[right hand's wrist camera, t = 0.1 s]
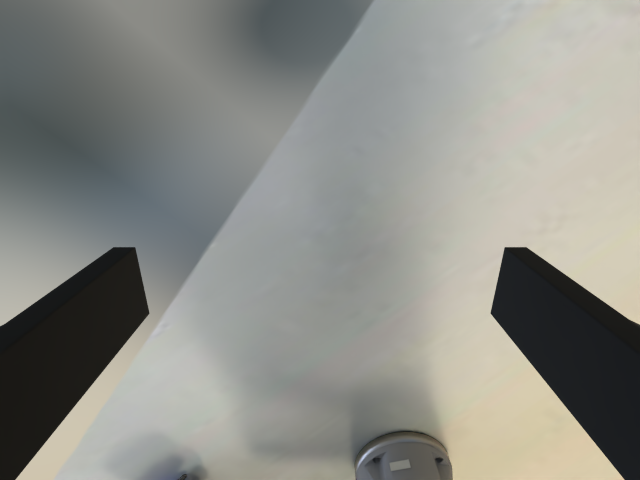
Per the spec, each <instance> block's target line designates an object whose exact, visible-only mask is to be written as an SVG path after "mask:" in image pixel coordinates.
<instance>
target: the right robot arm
mask: <svg viewBox="0 0 640 480" xmlns="http://www.w3.org/2000/svg"><path fill="white" fill-rule="evenodd" d="M148 314H149V309H148V305H147V300H146V296H145V291H144V286H143V282H142V277H141V272H140V268H139V263H138V258H137V254H136V249H135V247H113V248H112V249H111V250H109V251H108V252H106V253H105V254H104V255H102V256H101V257H99V258H98V259H96V260H95V261H94V262H92V263H91V264H89V265H88V266H87V267H85V268H84V269H82V270H81V271H79V272H78V273H77V274H75V275H74V276H72V277H71V278H69V279H68V280H67V281H65V282H64V283H62V284H61V285H60V286H58V287H57V288H55V289H54V290H52V291H51V292H50V293H48V294H47V295H45V296H44V297H43V298H41V299H40V300H38V301H37V302H35V303H34V304H33V305H31V306H30V307H28V308H27V309H26V310H24V311H23V312H21V313H20V314H18V315H17V316H16V317H14V318H13V319H11V320H10V321H8V322H7V323H6V324H4V325H2V326H0V480H15V479H16V478H17V477H18V476H19V474H20V473H21V472H22V471H23V469H24V468H25V467H26V466H27V464H28V463H29V462H30V461H31V460H32V458H33V457H34V456H35V455H36V453H37V452H38V451H39V450H40V448H41V447H42V446H43V445H44V443H45V442H46V441H47V440H48V438H49V437H50V436H51V435H52V433H53V432H54V431H55V430H56V429H57V427H58V426H59V425H60V424H61V422H62V421H63V420H64V419H65V417H66V416H67V415H68V414H69V412H70V411H71V410H72V409H73V407H74V406H75V405H76V404H77V402H78V401H79V400H80V399H81V398H82V396H83V395H84V394H85V392H86V391H87V390H88V389H89V388H90V386H91V385H92V384H93V383H94V381H95V380H96V379H97V378H98V376H99V375H100V374H101V373H102V372H103V370H104V369H105V368H106V367H107V365H108V364H109V363H110V362H111V360H112V359H113V358H114V357H115V355H116V354H117V353H118V352H119V350H120V349H121V348H122V347H123V345H124V344H125V343H126V342H127V340H128V339H129V338H130V337H131V336H132V334H133V333H134V332H135V331H136V329H137V328H138V327H139V326H140V324H141V323H142V322H143V321H144V319H145V318H146V317H147V316H148ZM491 314H492V316H493V317H494V318H495V319H496V321H497V322H498V323H499V324H500V326H501V327H502V328H503V329H504V331H505V332H506V333H507V334H508V336H509V337H510V338H511V339H512V341H513V342H514V343H515V344H516V345H517V347H518V348H519V349H520V350H521V352H522V353H523V354H524V355H525V357H526V358H527V359H528V360H529V362H530V363H531V364H532V365H533V367H534V368H535V369H536V370H537V372H538V373H539V374H540V375H541V376H542V378H543V379H544V380H545V381H546V383H547V384H548V385H549V386H550V388H551V389H552V390H553V391H554V393H555V394H556V395H557V396H558V398H559V399H560V400H561V401H562V402H563V404H564V405H565V406H566V407H567V409H568V410H569V411H570V412H571V414H572V415H573V416H574V417H575V419H576V420H577V421H578V422H579V424H580V425H581V426H582V427H583V429H584V430H585V431H586V432H587V433H588V435H589V436H590V437H591V438H592V440H593V441H594V442H595V443H596V445H597V446H598V447H599V448H600V450H601V451H602V452H603V453H604V455H605V456H606V457H607V458H608V460H609V461H610V462H611V463H612V464H613V466H614V467H615V468H616V469H617V471H618V472H619V473H620V474H621V476H622V477H623V478H624V479H625V480H640V325H639V324H637V323H635V322H633V321H631V320H629V319H627V318H626V317H624V316H623V315H622V314H620V313H619V312H617V311H616V310H614V309H613V308H612V307H610V306H609V305H607V304H606V303H605V302H603V301H602V300H600V299H599V298H597V297H596V296H595V295H593V294H592V293H590V292H589V291H588V290H586V289H585V288H583V287H582V286H580V285H579V284H578V283H576V282H575V281H573V280H572V279H571V278H569V277H568V276H566V275H565V274H563V273H562V272H561V271H559V270H558V269H556V268H555V267H554V266H552V265H551V264H549V263H548V262H546V261H545V260H544V259H542V258H541V257H539V256H538V255H536V254H535V253H534V252H532V251H531V250H529V249H528V248H527V247H505V249H504V254H503V258H502V263H501V268H500V272H499V277H498V282H497V286H496V291H495V295H494V300H493V305H492V309H491ZM355 474H356V480H453V478H452V466H451V463H450V460H449V457H448V454H447V452H446V450H445V448H444V447H443V446H442V445H441V444H440V443H439V442H438V441H436V440H435V439H433V438H431V437H429V436H427V435H424V434H420V433H415V432H396V433H391V434H387V435H384V436H381V437H379V438H377V439H375V440H373V441H371V442H370V443H368V444H367V445H366V446H365V447H364V448H363V449H362V450H361V451H360V453H359V454H358V456H357V458H356V462H355Z"/></svg>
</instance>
